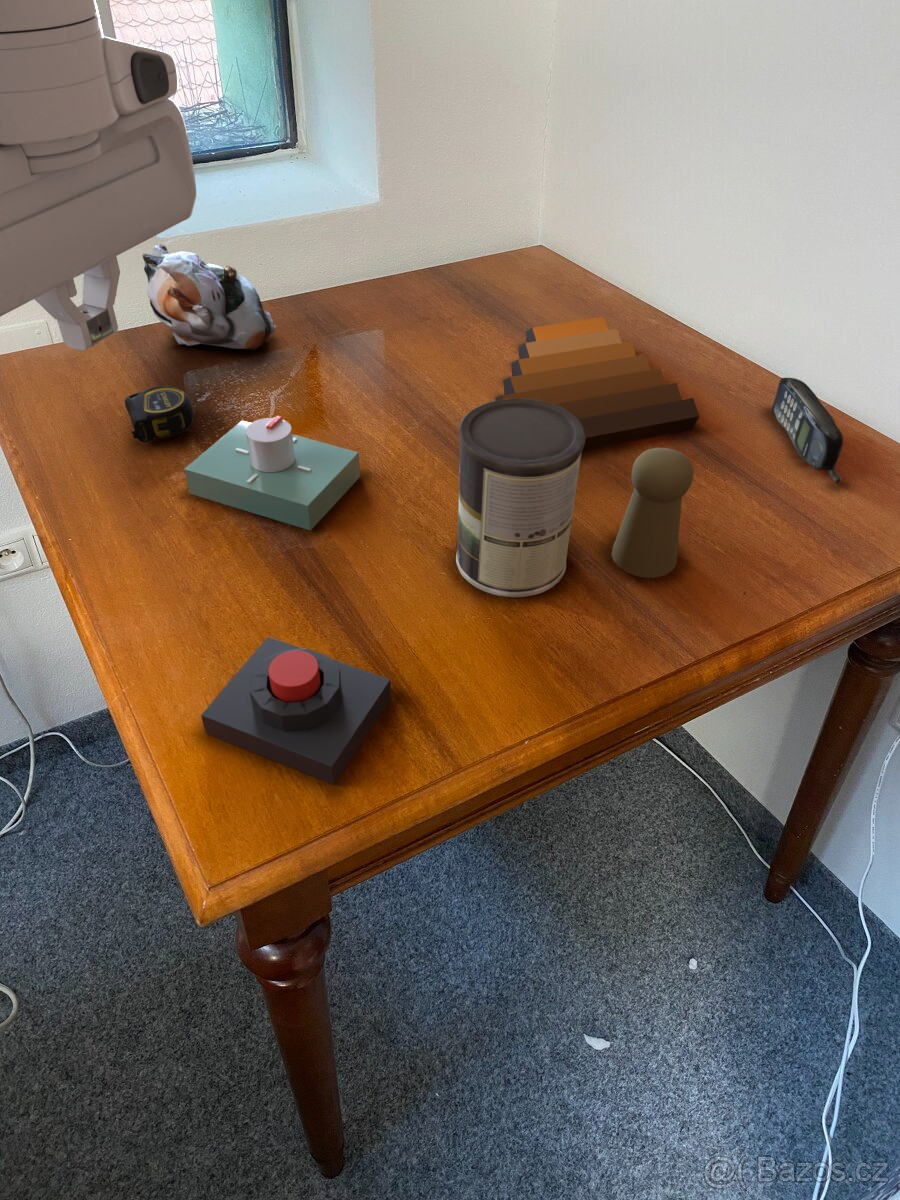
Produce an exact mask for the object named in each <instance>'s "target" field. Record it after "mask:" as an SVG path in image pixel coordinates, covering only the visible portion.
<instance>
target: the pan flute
mask: <svg viewBox="0 0 900 1200" xmlns="http://www.w3.org/2000/svg"><path fill="white" fill-rule="evenodd" d="M525 341H526V342H524V343H522V344H520V345H519V346H518V359H516V360H514V361H512V362H511V364H510V365H511V376H509V377H507V378H504V379H503V394H502V395H499V396H497V397H494V401H496V400H502V399H513V398H514V399H521V398H522V399H533V400H539V401H543V402H547V403H551V404H554V405H556V406H559V407H561V408H563V409H565V410H567V411H568V412H570V413H571V414H573V415H574V416H575V417H576V418H577V419H578V420H579V421H580V423H581V424H582V426H583V427H584V430H585V444H584V448H583V450H582V452H583V451H588V450H595V449H599V448H604V447H610V446H615V445H621V444H625V443H630V442H635V441H640V440H645V439H650V438H656V437H660V436H666V435H671V434H675V433H682V432H686V431H691V430H693V429H694V427H695V426H696V424H697V421H698V420H699V418H700V414H699V411H698V407H697V404H696V401H695V399H694V397H690V398H686V399H683V397H682V394H681V390H680V388H679V386H678V383H677V382H673V383H667V382H666V380H665V377H664V374H663V370H662V368H660V367H659V368H654V369H651V366H650V363H649V360H648V358H647V355H646V354H645V353H644V354H640V355H636V351H635V350H634V345H633V343H632V341H631V340H630V341H623V342H622V338H621V335H620V333H619V330H618V328H613V329H609V328H608V325H607V321H606V318H605V316H599V317H593V318H586V319H580V320H573V321H566V322H560V323H552V324H546V325H540V326H539V325H538V326H533V327H530V328H528V329H527V330H525Z"/></svg>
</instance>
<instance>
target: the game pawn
mask: <svg viewBox="0 0 900 1200" xmlns="http://www.w3.org/2000/svg"><path fill="white" fill-rule="evenodd" d="M630 477H631V482H632V485H633V488H634V489H633V492H632V494H631V497H630V500H629V502H628V505H627V508H626V511H625V513H624V516H623V518H622V522H621V524H620V527H619V529H618V532H617V534H616V537H615V541H614V542H613V546H612V548H611V549H612V550H611V553H610V554H611V558H612V560H613V562H614V563H615V565H616V566H617V567H618V568H619V569H621V570H622V571H624V572H625V573H628V574H630V575H632V576H634V577H640V578H643V579H647V578H649V579H651V578H653V579H655V578H660V577H663V576H667V575H668V574H670V573H672V572H673V570H674V569H675V567H676V566H677V560H678V549H679V537H680V527H681V526H680V525H681V513H682V503H683V502H682V501H683V497H684V496H685V495H686V494H687V493H688V491H690V488H691V486H692V483H693V480H694V467H693V465H692V463H691V460H690V459H689V458H688V457H687V455H685V454H684V453H682V452H680V451H678V450H675V449H672V448H668V447H654V448H648V449H647V450H644V451H643V452H641V453H640V454H639V455H638V456H637V457H636V458H635V460H634V463H633V465H632V469H631V475H630Z"/></svg>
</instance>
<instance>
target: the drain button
mask: <svg viewBox="0 0 900 1200" xmlns="http://www.w3.org/2000/svg"><path fill="white" fill-rule="evenodd" d="M268 673H269V679H270V684H271V689H272V692H273V694H274V695H275V696H276V697H277V698H278V699H280V700H282V701H285V702H301V701H304V700H307V699H309V698H311V697H312V696H313V695H314V694H315V693H316V692H317V691H318V689H319V687H320V674H319V666H318V662H317V660H316V659H315V658H314V657H313V656H312V655H311V654H309V653H307V652H304V651H289V652H285V653H282V654H280V655H279V656H277V657H276V658H275V659H274V660H273V661H272V662H271V664H270V666H269V670H268Z"/></svg>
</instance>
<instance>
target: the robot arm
mask: <svg viewBox="0 0 900 1200" xmlns="http://www.w3.org/2000/svg"><path fill="white" fill-rule="evenodd" d="M178 89H179V76H178V71H177V66H176V62H175V59H174V57H173V56H172V55H171V53H168V52H167V51H163V50H160V49H155V48H152V47H148V46H143V45H139V44H135V43H130V42H126V41H123V40H120V39H115V38H114V37H112V36H109V35H105V34H104V32H103V28H102V24H101V18H100V14H99V10H98V5H97V3H96V0H0V317H2V316H5V315H7V314H8V313H10V312H12V311H15V310H17V309H18V308H20V307H23V305H25V304H27V303H30V302H31V301H33V300H34V301H35V302H37V303H38V305H40V307H42V308H43V310H45V311H46V312H47V313H48V314H49V316H51V317H52V318H53V320H56V322H57V324H58V328H59V331H60V334H61V338H62V341H63V342H64V344H65V345H66V346H67V347H68V348H69V349H72V350H77V351H79V352H85V351H87V350H89V349H90V348H92V347H93V346H96V345H97V344H99V343H100V342H101V341H103V340H105V339H106V338H108V337H109V336H112V335H113V334H115V333H116V332H118V330H119V324H118V321H117V317H116V313H115V309H114V305H115V302H116V297H117V292H118V286H119V280H120V274H121V269H120V265H119V262H118V256H119V255H121V254H123V253H125V252H127V251H129V250H131V249H132V248H135V247H136V246H139V245H141V244H142V243H144V242H146V241H148V240H149V239H152V238H153V237H156V236H157V235H159V234H162V233H163V232H165V231H166V230H169V229H171V228H173V227H174V226H176V225H179V224H180V223H182V222H184V221H186V220H188V219H190V218H191V216H192V215H193V212H194V207H195V204H196V199H197V184H196V175H195V170H194V162H193V155H192V150H191V145H190V140H189V136H188V131H187V127H186V123H185V120H184V116H183V114H182V111H181V109H180V108H179V106H178V105H177V103H176V102H175V101H174V100H173V99H172V98H173V97H174V96H175V95H176V94H177V92H178ZM81 275H83V283H82V284H83V285H82V302H81V304H80V305H78V306H77V305H76V303H75V302H74V301H73V300H72V299H71V298H74V297H76V296H77V294H78V291H77V287H76V284H75V278H77V277H79V276H81Z"/></svg>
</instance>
